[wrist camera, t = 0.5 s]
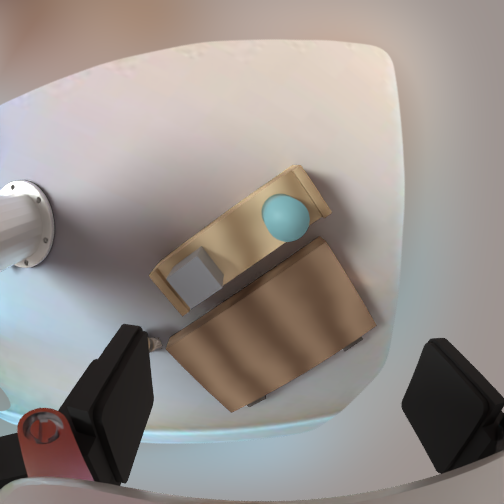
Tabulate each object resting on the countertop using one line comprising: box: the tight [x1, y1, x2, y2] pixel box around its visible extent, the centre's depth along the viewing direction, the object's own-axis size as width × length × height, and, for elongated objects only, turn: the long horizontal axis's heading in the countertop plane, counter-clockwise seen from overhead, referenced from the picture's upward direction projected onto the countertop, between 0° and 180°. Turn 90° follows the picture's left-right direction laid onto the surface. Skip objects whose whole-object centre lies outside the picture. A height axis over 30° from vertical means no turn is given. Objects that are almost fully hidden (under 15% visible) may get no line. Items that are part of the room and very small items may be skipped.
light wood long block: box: [149, 165, 332, 316], centre depth 35 cm, size 20×6×6 cm, turn 126°
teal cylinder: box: [261, 194, 310, 242], centre depth 30 cm, size 4×4×5 cm
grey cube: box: [166, 246, 224, 309], centre depth 32 cm, size 4×4×4 cm
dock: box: [166, 236, 377, 413], centre depth 40 cm, size 24×15×3 cm, turn 125°
